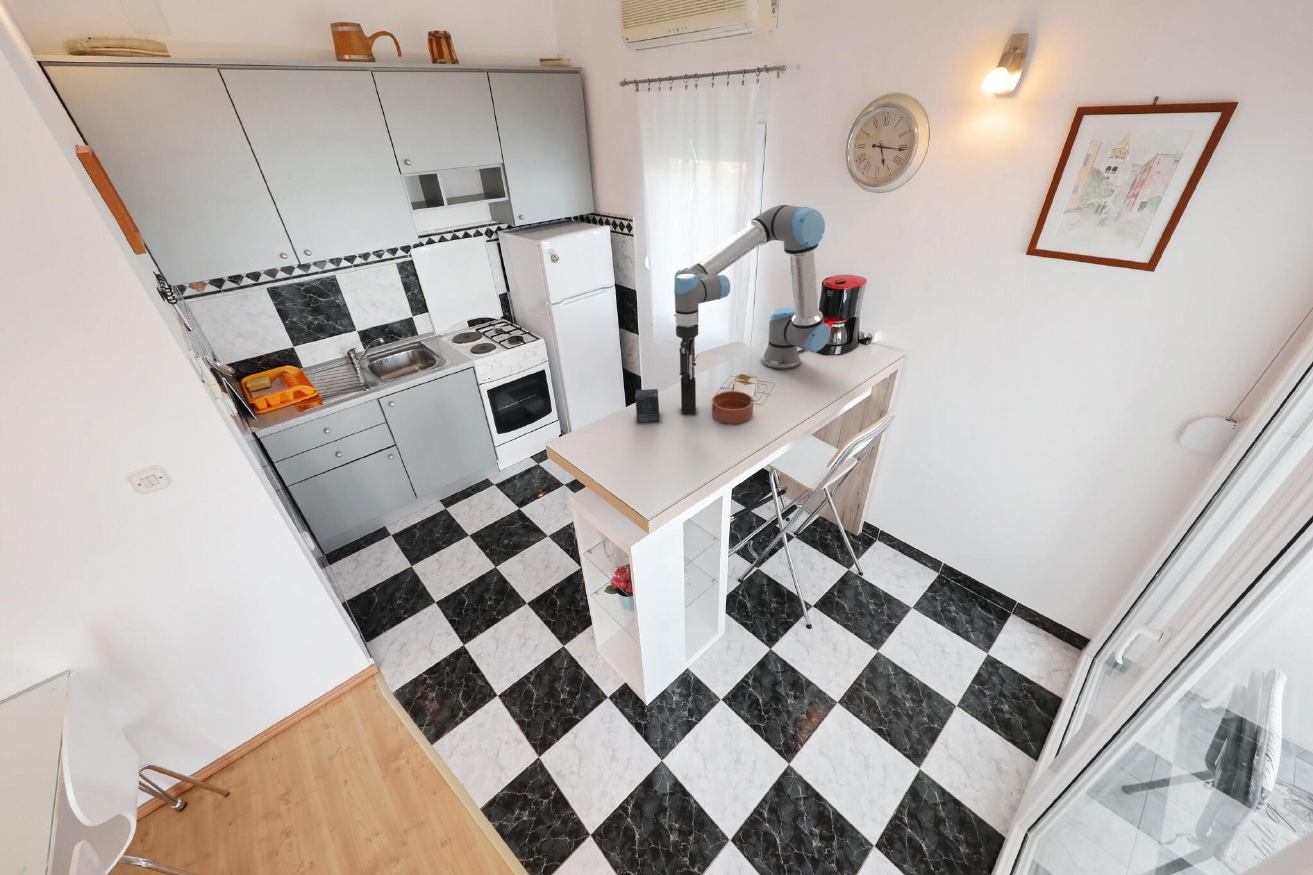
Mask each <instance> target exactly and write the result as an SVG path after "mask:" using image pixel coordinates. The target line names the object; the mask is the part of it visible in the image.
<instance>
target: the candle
mask: <svg viewBox="0 0 1313 875" xmlns="http://www.w3.org/2000/svg"><path fill="white" fill-rule="evenodd" d="M688 353H689V352H688ZM689 374H690V392H684V391H682V376H681V377H680V403H681V404H680V405H681V406H680V407H681V415H683V416H693V415H696V414H697V396H696V395H697V393H696V391H697V389H696V387H697V385H696V384H697V383H696V376H695V375H694V376H692V355H690V365H689Z"/></svg>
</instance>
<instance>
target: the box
mask: <svg viewBox="0 0 1313 875" xmlns="http://www.w3.org/2000/svg"><path fill="white" fill-rule="evenodd" d="M634 400H635V410H636V421H637V424H643V423H644V424H646V423H660V404H659V403H660V402H659V389H658V388H649V389H636V390H635V396H634Z"/></svg>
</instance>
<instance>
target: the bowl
mask: <svg viewBox="0 0 1313 875" xmlns="http://www.w3.org/2000/svg"><path fill="white" fill-rule="evenodd" d="M754 402H755V400H754V398H753V397H752V396H751V395H750V394H749V393H746V392H742V391H738V390H737V391H736V390H728V391H721V392H718V393H716V394H715V395H714V396H712V398H711V416H712V418H713V419H715V420H716V421H718V422H719V423H723V424H729V425H736V424H737V425H738V424H742V423H745V422H747V421H749V420H750V419H751V418H752V417H753V414H754Z"/></svg>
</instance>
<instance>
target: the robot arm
mask: <svg viewBox="0 0 1313 875" xmlns="http://www.w3.org/2000/svg"><path fill="white" fill-rule="evenodd" d="M825 231H826V223H825V218H824V216H823V215H822V213H821V212H820V211H819V210H817V209H815V208H811V207H809V206H796V205H789V204H779V205H775V206H773V207H770V208H768V209H766V210H765V211H763V212H761V213H760V214H758V215H756V216H755V217H754V218H752V219H751V220H750V221H749V222H748V223H747V226H746V227H745V228H743V229H742V230H740V231H739V232H738V233H736V234H735V235H734V236H732V237H731V238H729V239H728V240H727V241H725V242H723V243H722V244H721V245H720V246H719V247H717V248H715V249H714V250H713V251H711V252H710V253H709V254H707V255H706V256H705V257H703V258H702V259H700V260H699V261H697V262H696V263H695V264H694V265H692V266H690V267H681V268H679V269H678V270H676V272H675V274H674V278H673V281H674V290H673V292H674V309H675V310H674V312H675V313H673V316H674V317H675V336H676V337H678V338H680V339H681V341H680V344H679V345H680V347H679V376H681V377H682V391H684V392H690V374H689V365H690V355H692V376H694V377H695V367H696V366H697V362H696V350H695V349H696V348H695V343H696V342H695V341H696V340H695V339H696V337H698V335H699V324H698V323H699V317H700V316H699V304H703V303H707V302H713V301H720V300H722V299H724V298H727V297H728V296H729V295H730V293H731V282H730V280H729V277H728V276H727V275H726V274H721V273H723V271H725V270H726V269H728V268H729V267H731V266H732V265H733V264H735V263H736V262H738V261H739V260H740V259H741V258H743V257H744V256H746V255H747V254H749V253H750V252H751V251H753V250H754V249H755V248H757V247H758V246H761V247H762V246H765V245H766V244H767V243H769V242H773V241H779V242H782V245H783V252H784V254H786V255H787V256H788V257H789V268H790V277H791V287H792V297H793V298H792V300H793V306H794V307H781V308H776V309H774V310H772V311H771V312H770V318H769V323H768V324H769V325H768V342H767V347H766V349H765V351H764V353H763V356H762V364H764V366H766V367H768V368H771V369H776V370H790V369H794V368H796V367H798V366H799V365H800V360H801V359H800V356H799V353H802V352H804V351H806V352H809V353H816V352H819V351H820V350H822V349H823V348H824V347H825V346H826V344H827V343H828V341H829V339H830V337H831V327H830V326H829V325H828V324H827V323H824V314H823V312H822V311H820V310H819V301H818V283H817V269H816V255H815V254H816V253H815V251H816V249H818V247H819V243H820V242H821V241H822V239H823V237H824V236H823V235H824V234H825ZM798 348H799V349H800V350H798ZM688 352H689V353H688Z"/></svg>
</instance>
